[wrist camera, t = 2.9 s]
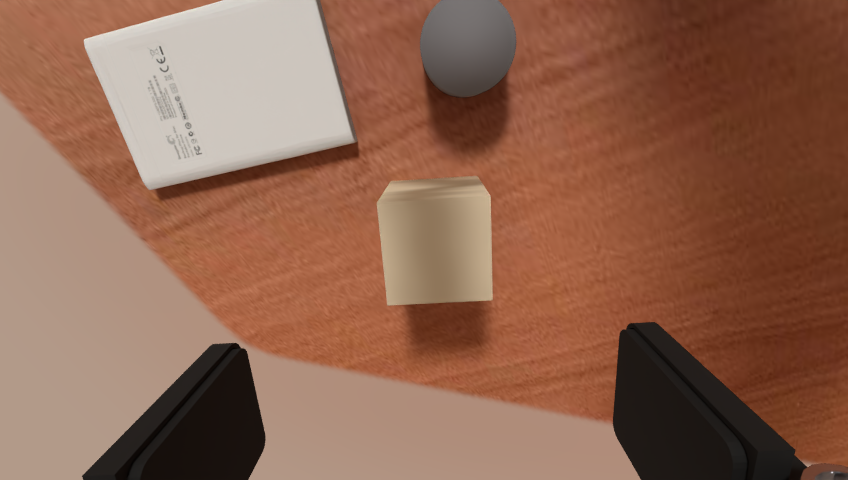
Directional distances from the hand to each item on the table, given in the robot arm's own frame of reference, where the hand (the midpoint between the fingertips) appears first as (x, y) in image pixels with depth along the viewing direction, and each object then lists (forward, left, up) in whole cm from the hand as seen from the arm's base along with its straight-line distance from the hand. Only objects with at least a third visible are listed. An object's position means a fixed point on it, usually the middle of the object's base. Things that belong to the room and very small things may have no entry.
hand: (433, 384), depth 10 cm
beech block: (0, 0, -15) cm, 15 cm away
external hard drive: (+11, -8, -16) cm, 21 cm away
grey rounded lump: (-2, -9, -15) cm, 18 cm away
